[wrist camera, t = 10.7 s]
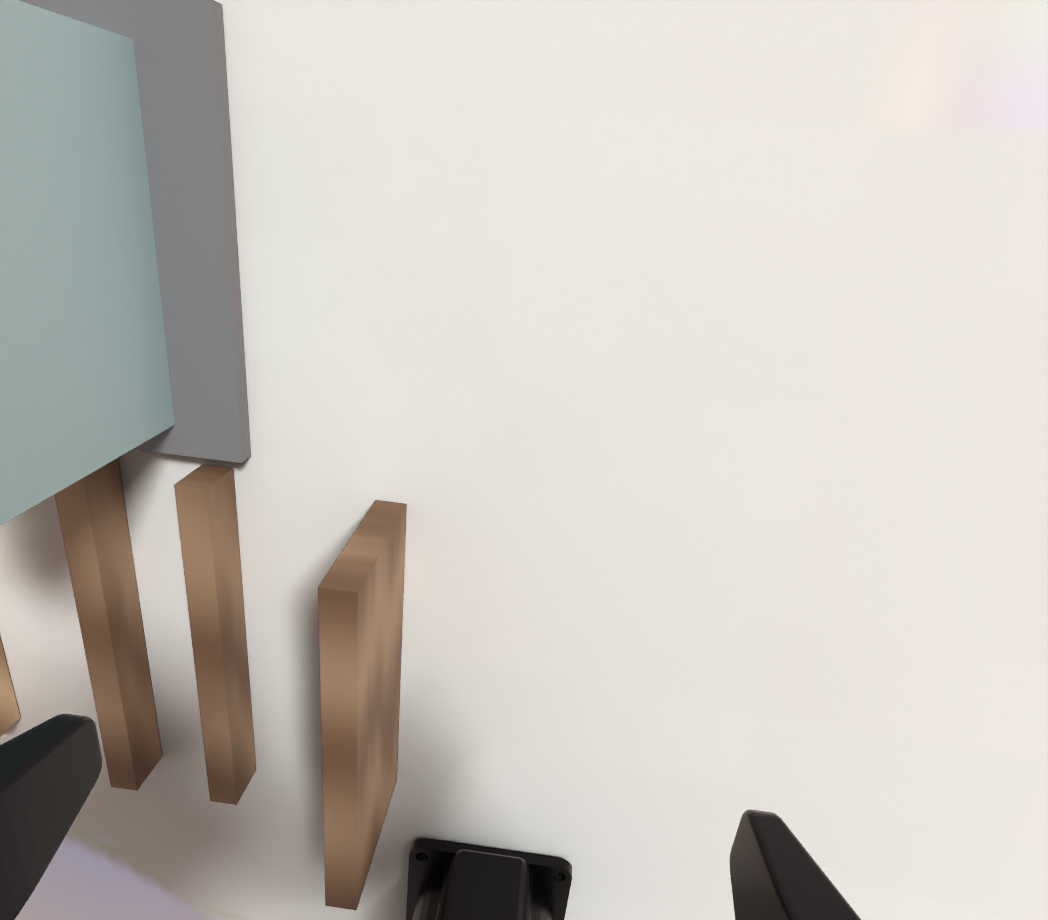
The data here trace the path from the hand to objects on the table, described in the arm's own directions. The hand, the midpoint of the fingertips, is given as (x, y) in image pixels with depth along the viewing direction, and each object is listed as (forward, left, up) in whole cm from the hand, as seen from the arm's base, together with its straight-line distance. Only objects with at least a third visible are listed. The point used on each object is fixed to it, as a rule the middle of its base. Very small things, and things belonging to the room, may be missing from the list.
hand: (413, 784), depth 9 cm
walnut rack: (-8, +8, -12) cm, 17 cm away
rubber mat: (+5, +11, -12) cm, 17 cm away
